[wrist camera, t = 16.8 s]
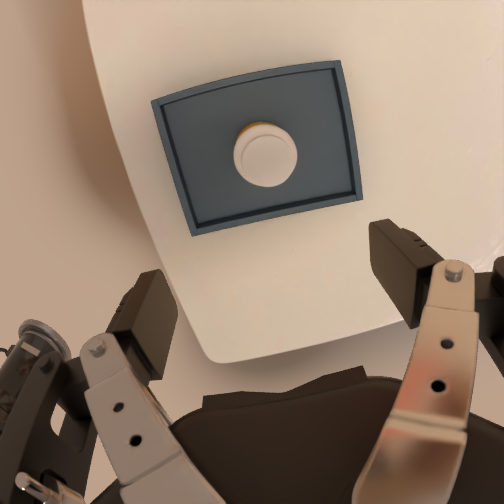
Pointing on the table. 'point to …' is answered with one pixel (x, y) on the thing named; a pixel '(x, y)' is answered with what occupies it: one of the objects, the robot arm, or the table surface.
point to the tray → (260, 110)
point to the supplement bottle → (264, 154)
